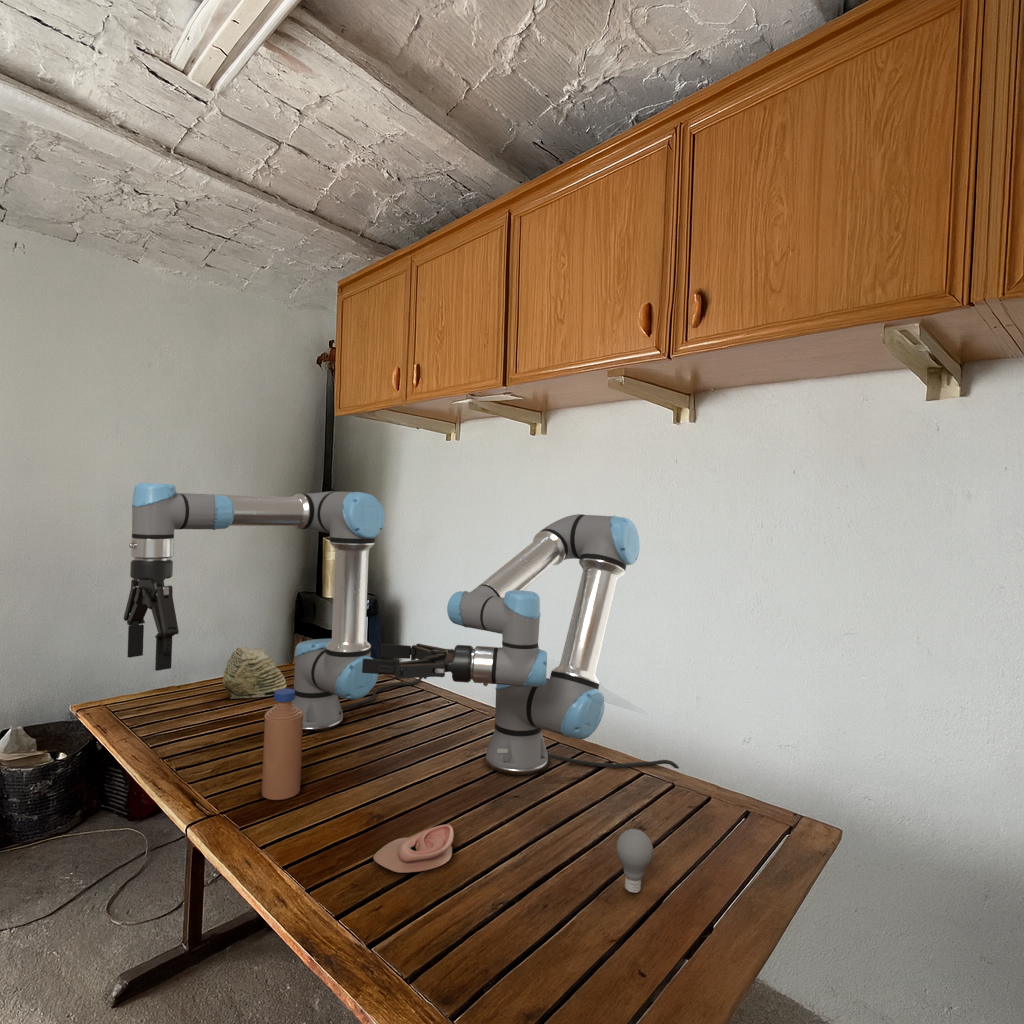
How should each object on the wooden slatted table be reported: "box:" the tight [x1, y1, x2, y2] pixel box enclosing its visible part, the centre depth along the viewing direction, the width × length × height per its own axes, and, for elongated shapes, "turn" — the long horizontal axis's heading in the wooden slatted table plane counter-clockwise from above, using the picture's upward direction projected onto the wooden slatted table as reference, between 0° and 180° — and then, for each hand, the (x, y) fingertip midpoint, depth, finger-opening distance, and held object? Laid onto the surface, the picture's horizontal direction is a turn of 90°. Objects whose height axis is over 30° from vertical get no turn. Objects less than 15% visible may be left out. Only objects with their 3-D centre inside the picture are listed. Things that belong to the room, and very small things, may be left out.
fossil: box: [222, 646, 288, 699], centre depth 198 cm, size 9×18×15 cm, turn 132°
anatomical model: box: [372, 824, 455, 874], centre depth 113 cm, size 13×4×12 cm
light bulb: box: [615, 828, 654, 894], centre depth 106 cm, size 6×6×10 cm
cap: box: [273, 687, 295, 703], centre depth 135 cm, size 4×4×2 cm
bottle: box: [261, 701, 303, 801], centre depth 135 cm, size 8×8×21 cm
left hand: (148, 662), depth 129 cm, fingers open, 13 cm apart
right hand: (372, 657), depth 133 cm, fingers open, 13 cm apart
